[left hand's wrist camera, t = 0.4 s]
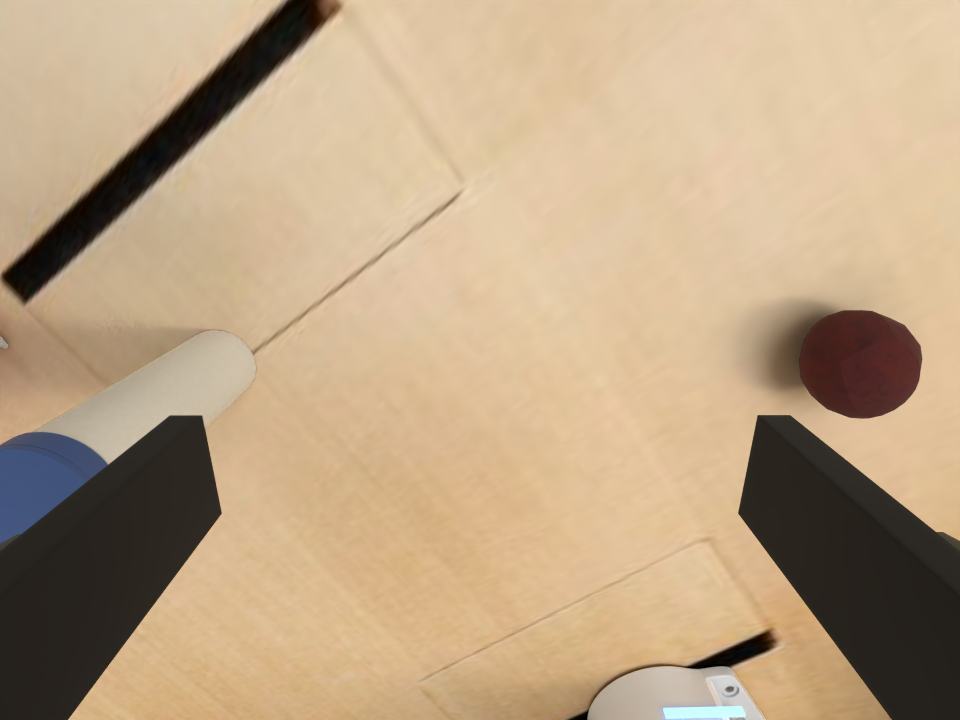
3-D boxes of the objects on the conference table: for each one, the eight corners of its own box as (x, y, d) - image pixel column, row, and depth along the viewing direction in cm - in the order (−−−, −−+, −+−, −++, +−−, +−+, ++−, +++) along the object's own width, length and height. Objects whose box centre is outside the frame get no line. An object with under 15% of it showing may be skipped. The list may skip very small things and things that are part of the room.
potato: (801, 408, 43) (860, 452, 36) (763, 332, 41) (818, 364, 34) (890, 361, 41) (968, 398, 35) (855, 279, 39) (932, 302, 33)
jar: (175, 333, 41) (-46, 454, 24) (246, 326, 41) (75, 442, 24) (196, 399, 43) (5, 555, 26) (263, 392, 43) (117, 545, 25)
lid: (-28, 437, 25) (-62, 455, 23) (97, 425, 25) (71, 442, 23) (22, 542, 27) (-5, 565, 25) (138, 532, 27) (117, 555, 25)
